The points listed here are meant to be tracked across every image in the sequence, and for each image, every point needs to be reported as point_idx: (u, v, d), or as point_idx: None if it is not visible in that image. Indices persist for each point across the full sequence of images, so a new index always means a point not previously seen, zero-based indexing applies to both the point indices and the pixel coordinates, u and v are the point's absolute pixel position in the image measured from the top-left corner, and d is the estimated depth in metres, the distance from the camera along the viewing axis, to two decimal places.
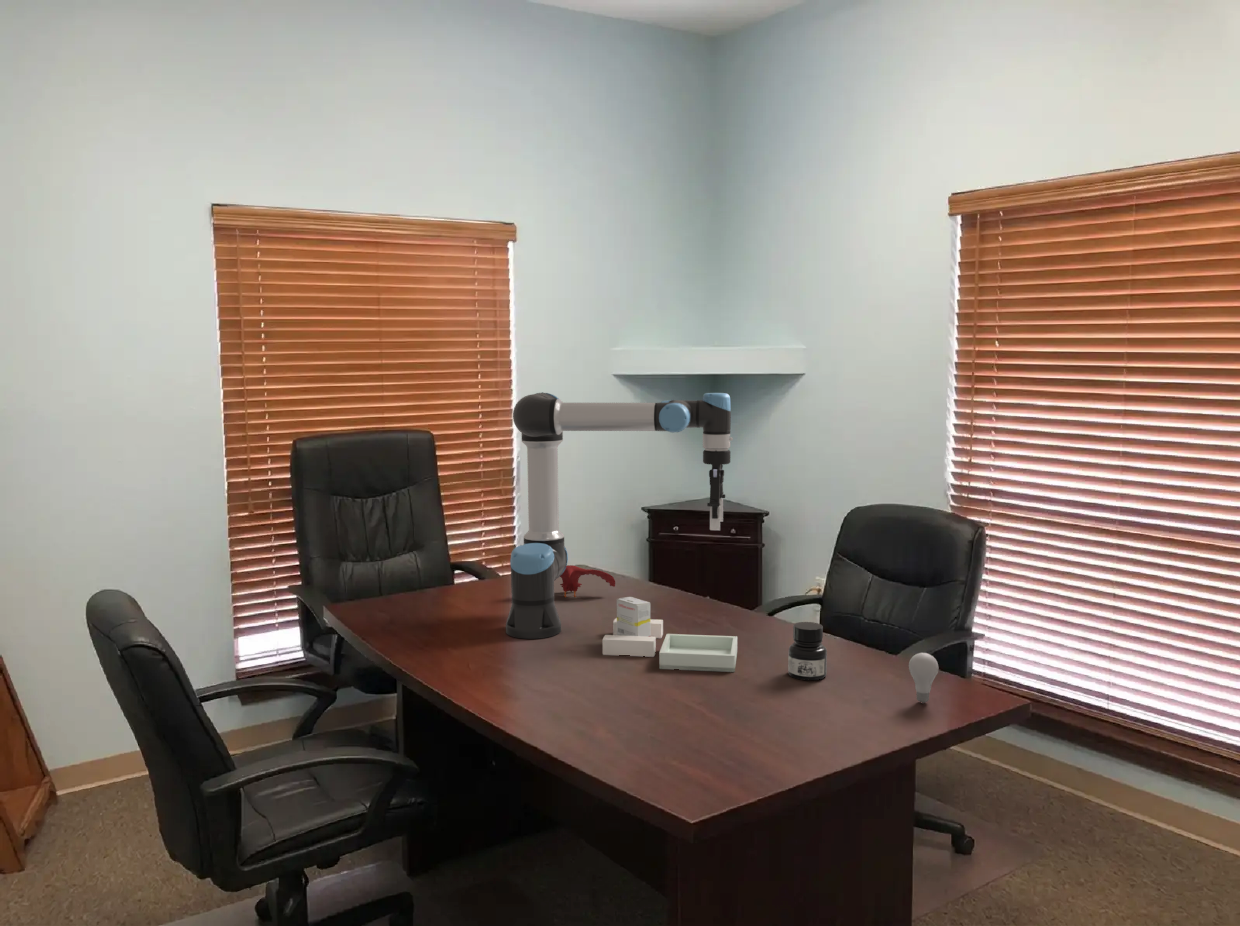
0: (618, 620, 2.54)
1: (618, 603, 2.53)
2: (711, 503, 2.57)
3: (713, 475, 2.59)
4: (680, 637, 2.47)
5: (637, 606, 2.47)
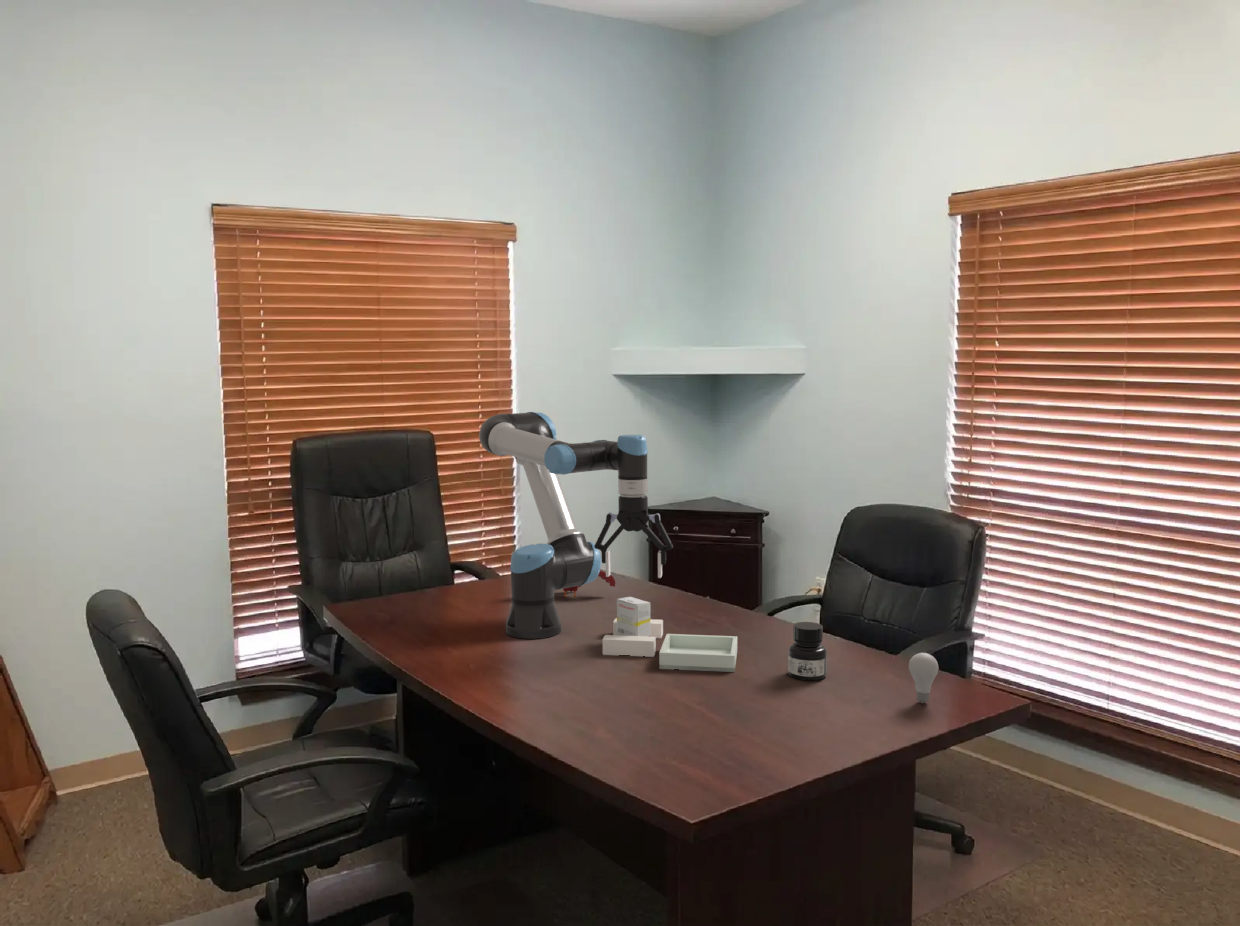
0: (618, 620, 2.54)
1: (618, 603, 2.53)
2: None
3: None
4: (680, 637, 2.47)
5: (637, 606, 2.47)
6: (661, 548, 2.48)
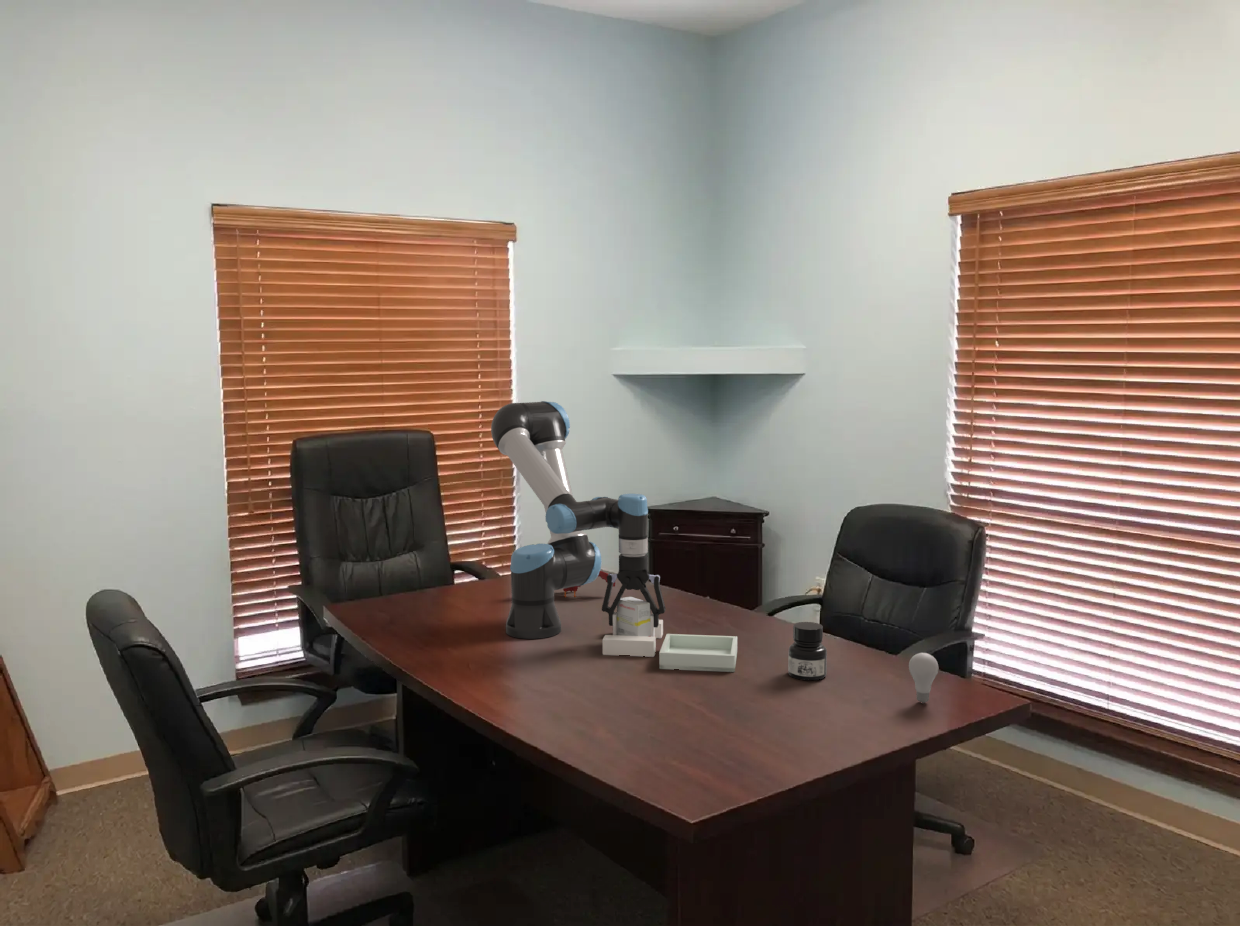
0: (618, 620, 2.54)
1: (618, 603, 2.53)
2: None
3: None
4: (680, 637, 2.47)
5: (637, 606, 2.47)
6: (654, 611, 2.50)
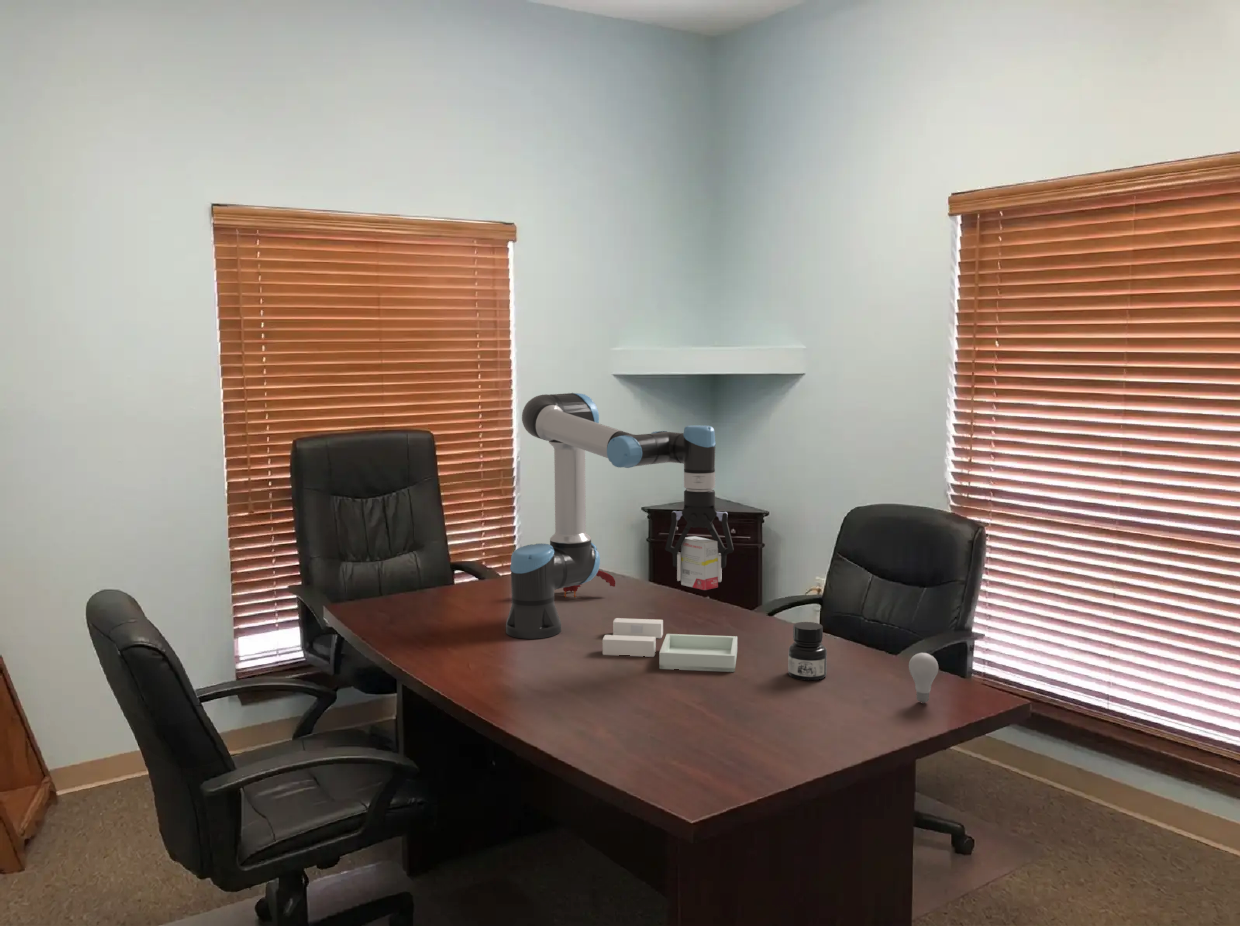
0: (683, 560, 2.38)
1: None
2: None
3: None
4: (680, 637, 2.47)
5: (705, 544, 2.32)
6: (722, 550, 2.34)
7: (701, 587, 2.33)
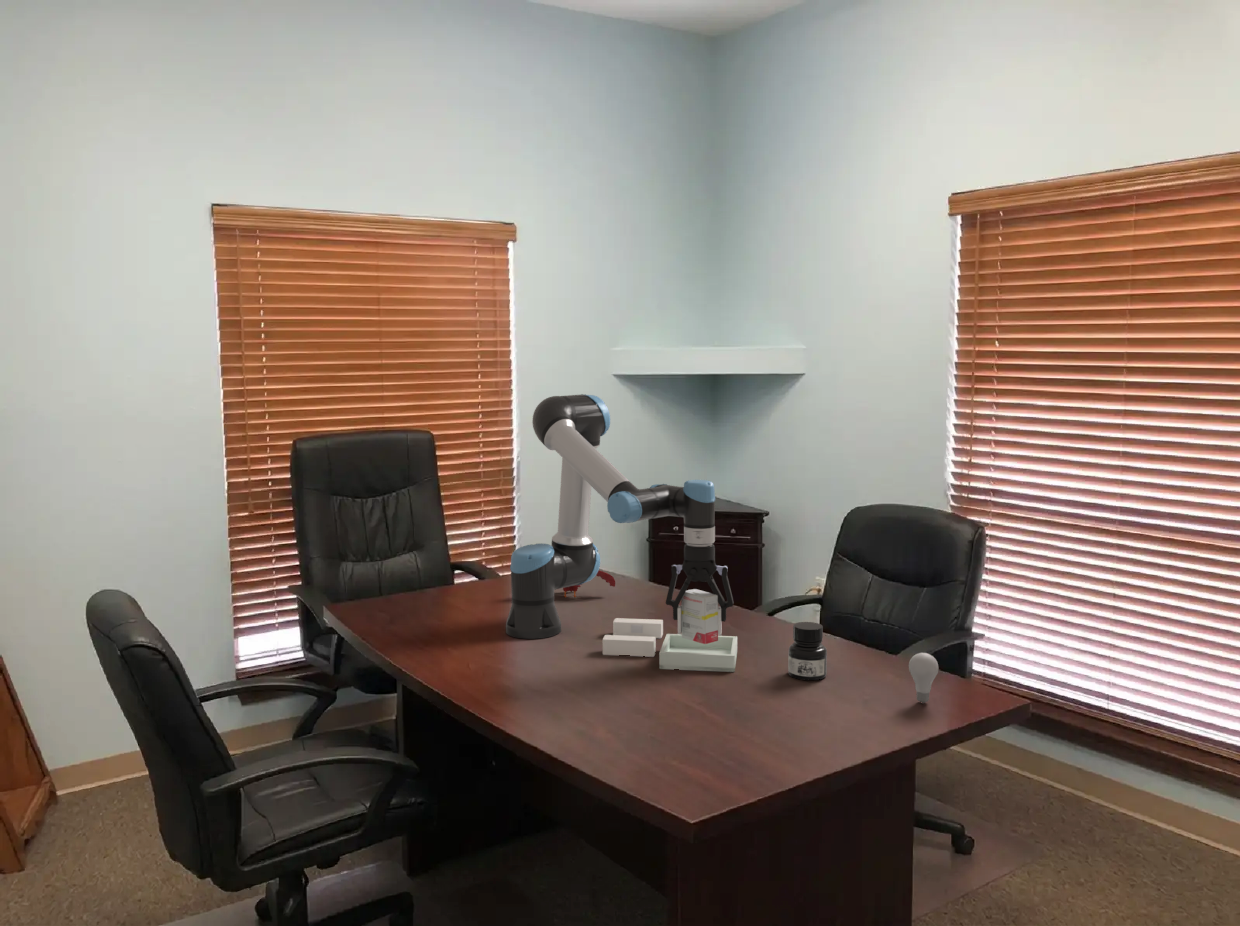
0: (683, 614, 2.39)
1: (683, 596, 2.39)
2: None
3: None
4: (680, 637, 2.47)
5: (705, 598, 2.33)
6: (722, 604, 2.36)
7: (701, 641, 2.35)
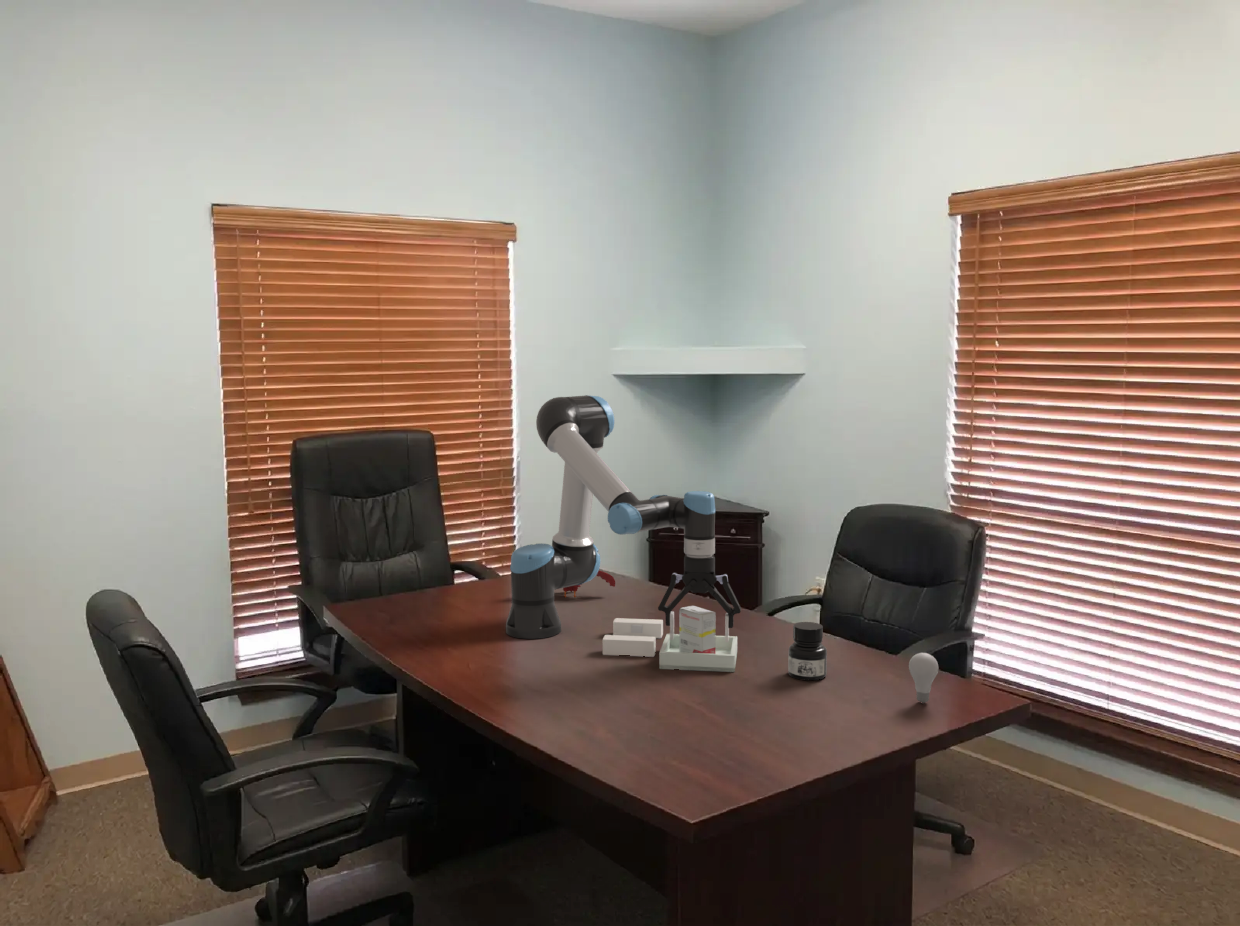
0: (681, 630, 2.40)
1: (680, 612, 2.40)
2: None
3: None
4: None
5: (702, 616, 2.34)
6: (729, 611, 2.36)
7: None
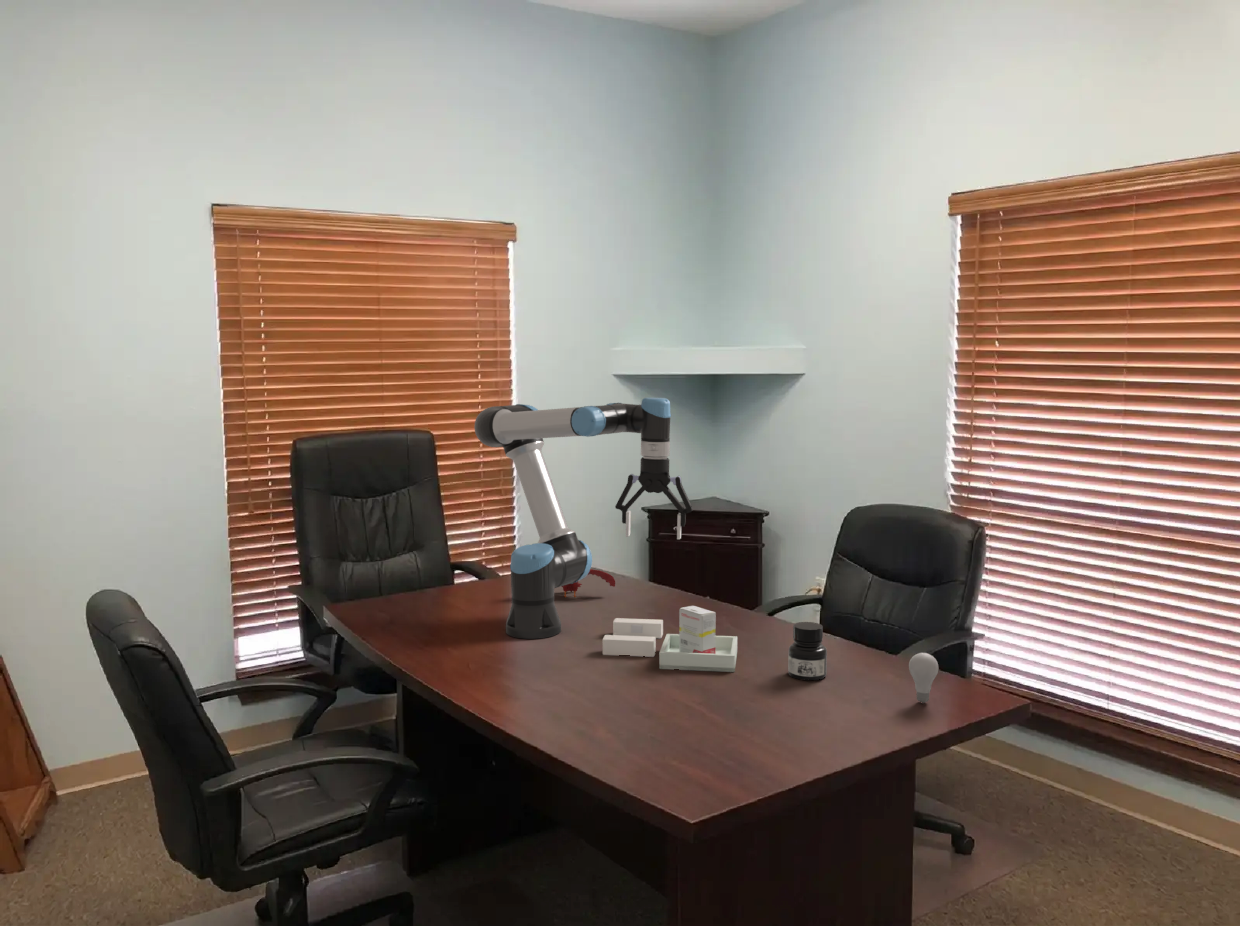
0: (681, 630, 2.40)
1: (680, 612, 2.40)
2: None
3: None
4: None
5: (702, 616, 2.34)
6: (681, 510, 2.52)
7: None
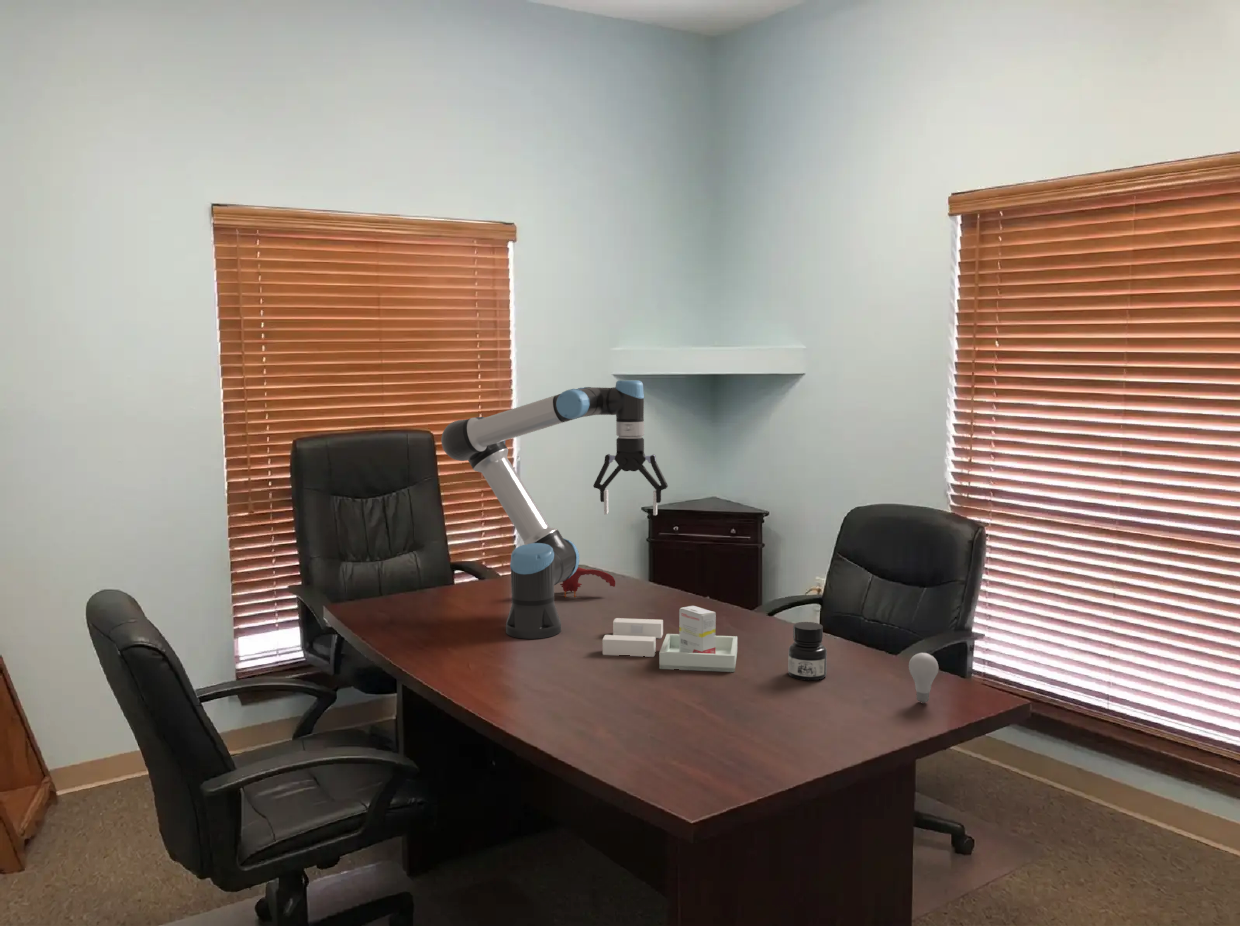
0: (681, 630, 2.40)
1: (680, 612, 2.40)
2: None
3: None
4: None
5: (702, 616, 2.34)
6: (656, 487, 2.63)
7: None
